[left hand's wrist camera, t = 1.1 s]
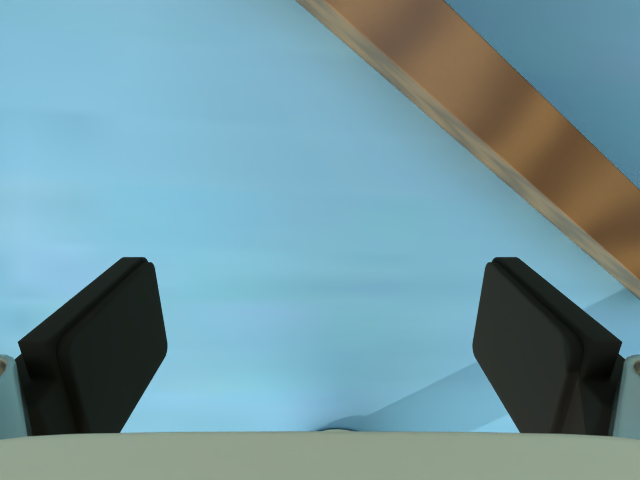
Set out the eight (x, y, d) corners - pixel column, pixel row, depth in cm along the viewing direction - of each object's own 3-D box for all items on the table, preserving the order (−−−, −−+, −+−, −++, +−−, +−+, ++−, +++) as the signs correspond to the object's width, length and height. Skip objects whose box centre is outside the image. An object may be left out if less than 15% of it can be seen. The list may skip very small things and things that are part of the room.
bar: (676, 268, 41) (764, 310, 33) (639, 299, 42) (714, 347, 34) (-43, -401, 24) (-221, -645, 16) (-67, -315, 26) (-244, -503, 18)
